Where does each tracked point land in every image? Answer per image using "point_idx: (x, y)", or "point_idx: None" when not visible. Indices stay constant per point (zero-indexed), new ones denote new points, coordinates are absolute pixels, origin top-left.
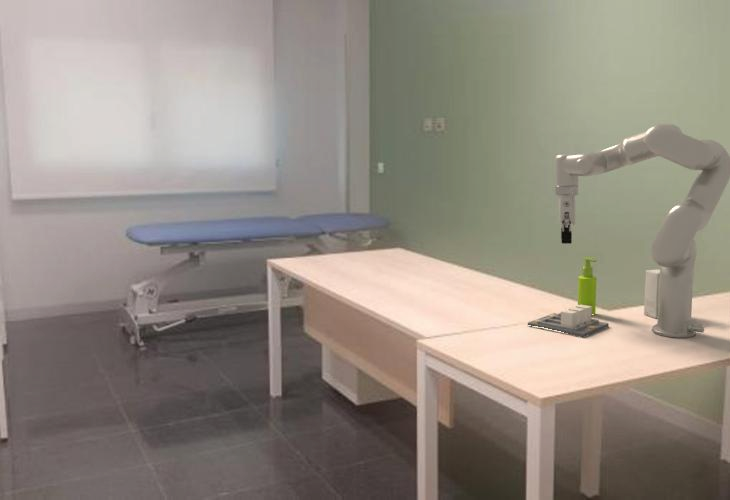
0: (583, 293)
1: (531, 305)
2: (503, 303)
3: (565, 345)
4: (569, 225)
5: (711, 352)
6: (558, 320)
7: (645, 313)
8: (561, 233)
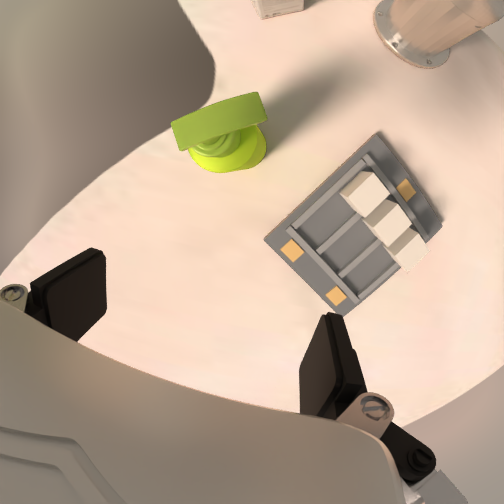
0: (255, 159)
1: (153, 264)
2: (141, 317)
3: (465, 271)
4: (429, 463)
5: (500, 59)
6: (359, 255)
7: (267, 17)
8: (81, 333)
